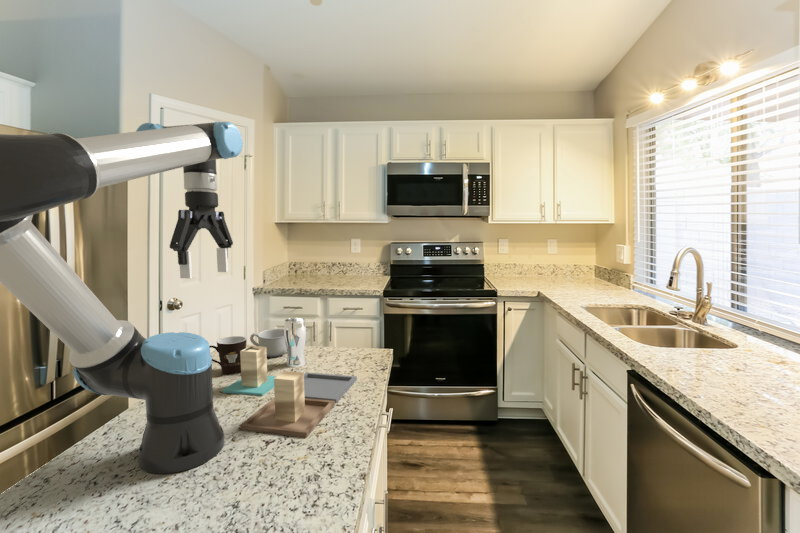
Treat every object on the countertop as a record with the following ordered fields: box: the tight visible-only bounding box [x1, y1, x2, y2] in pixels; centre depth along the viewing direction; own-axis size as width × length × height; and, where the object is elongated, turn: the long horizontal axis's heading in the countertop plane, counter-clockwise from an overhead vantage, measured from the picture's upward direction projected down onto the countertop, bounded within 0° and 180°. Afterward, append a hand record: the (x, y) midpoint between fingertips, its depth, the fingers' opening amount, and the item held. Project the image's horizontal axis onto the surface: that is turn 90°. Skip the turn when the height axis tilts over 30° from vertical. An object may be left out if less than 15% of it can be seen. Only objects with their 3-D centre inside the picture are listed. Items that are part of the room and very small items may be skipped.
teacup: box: [249, 328, 287, 358], centre depth 142 cm, size 14×11×8 cm
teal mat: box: [222, 375, 278, 397], centre depth 113 cm, size 12×12×1 cm
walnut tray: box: [239, 397, 336, 438], centre depth 95 cm, size 16×16×1 cm
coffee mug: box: [209, 335, 247, 376], centre depth 125 cm, size 12×9×10 cm
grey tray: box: [304, 371, 358, 404], centre depth 111 cm, size 16×16×1 cm
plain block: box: [273, 370, 305, 422], centre depth 94 cm, size 5×5×10 cm
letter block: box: [240, 345, 268, 387], centre depth 113 cm, size 5×5×10 cm
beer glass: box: [283, 316, 307, 368], centre depth 131 cm, size 7×7×15 cm
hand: (205, 275), depth 103 cm, fingers open, 13 cm apart
